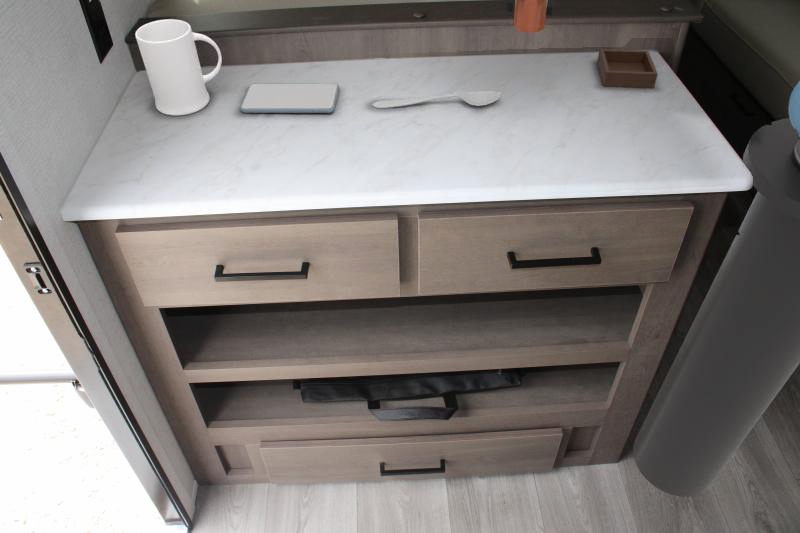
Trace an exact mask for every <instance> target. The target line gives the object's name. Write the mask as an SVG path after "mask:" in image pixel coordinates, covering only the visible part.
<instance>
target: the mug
mask: <svg viewBox="0 0 800 533" xmlns="http://www.w3.org/2000/svg"><path fill="white" fill-rule="evenodd" d="M134 35H135V39H136V42H137V46H138V48H139V53H140V55H141V58H142V62H143V65H144V68H145V72H146V75H147V77H148V81H149V83H150V87H151V92H152V94H153V97H154V103H155V104H154V105H155V108H156V109H157V111H158V112H160V113H161V114H164V115H167V116H177V117H178V116H179V117H180V116H186V115H191V114H194V113H197V112H199V111H201V110H202V109H204V108H205V107H207V105H208V104H209V102H210V99H211V98H210V94H209V92H208V90H207V86H206V83H208V82H210V81H211V80H213V79H214V78H215V77H216V76H217V75H218V73H219V72H220V70H221V68H222V62H223V57H222V52H221V50H220V47H219V46H218V45H217V43H216V42H215V40H213V39H212V38H210V37H209V36H208V35H205V34H203V33H198V32H195V31H193V30H192V26H191V25H190V23H188V22H186V21H185V20H181V19H175V18H170V19H169V18H168V19H158V20H154V21H150V22H148V23H145V24H143V25H142V26H140V27H139V28H137V30H135V33H134ZM196 41H203V42H206V43H208V44H210V45H211V46H212V47H213V48H214V49H215V50H216V52H217V57H218V59H217V64H216V67H215V68H214V69H213V70H212V71H211V72H209V73H207V74H203V71H202V67H201V63H200V59H199V55H198V50H197V46H196V43H195V42H196Z"/></svg>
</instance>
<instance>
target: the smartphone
mask: <svg viewBox="0 0 800 533" xmlns="http://www.w3.org/2000/svg"><path fill="white" fill-rule="evenodd" d="M339 91H340V85H339V84H338V83H335V82H329V83H328V82H327V83H326V82H319V83H317V82H316V83H315V82H312V83H307V82H305V83H303V82H302V83H299V82H298V83H297V82H296V83H294V82H293V83H287V82H286V83H284V82H283V83H282V82H281V83H279V82H277V83H274V82H273V83H272V82H271V83H265V82H264V83H262V82H261V83H260V82H259V83H257V82H256V83H250V84H249V86H248V88H247V90H246V92H245V95H244V98H243V100H242V102H241V105H240V107H239V109H240V112H242V113H243V114H246V113H248V114H249V113H250V114H251V113H253V114H254V113H255V114H260V113H261V114H262V113H263V114H268V113H270V114H273V113H277V114H279V113H282V114H284V113H286V114H288V113H291V114H292V113H293V114H297V113H299V114H300V113H301V114H302V113H305V114H306V113H307V114H311V113H315V114H316V113H317V114H320V113H321V114H322V113H325V114H327V113H329V114H330V113H333V112H334V111H335V110H336V106H337V105H336V104H337V101H338V100H337V99H338V95H339Z"/></svg>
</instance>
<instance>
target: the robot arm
mask: <svg viewBox="0 0 800 533" xmlns="http://www.w3.org/2000/svg"><path fill="white" fill-rule="evenodd" d="M515 1H516V0H506V12H508V13H514V8H515ZM554 3H555V0H548V2H547V9H546V16H553V10H554ZM787 110H788V118H790V121H791V124H792V126H793V128H794V129H796V131H797V133H798V134H799V137H798V139H799V140H798V139H797V140H798V141H797V140H796V141H797V143H796V145H795V147H794V149H793V151H792V159H793V162H794V164H795V165H796V167H797V168H798V169H799V170H800V80H799V81H798V82H797V84H796V85H795V86H794V87H793V90H792V91H791V93H790V96H789V101H788V109H787Z"/></svg>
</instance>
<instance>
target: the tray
mask: <svg viewBox="0 0 800 533" xmlns="http://www.w3.org/2000/svg"><path fill="white" fill-rule="evenodd" d="M596 66H597V69H598V73H599V76H600V80H601V85H602V87H609V88H612V87H613V88H635V89H636V88H637V89H654V88H655V84H656V81H657V78H658V71H657V68H656V66H655V63H654V61H653V59H652V57H651V54H650V52H649V50H639V49H638V50H635V49H610V48H609V49H608V48H607V49H606V48H604V49H603V48H600V49H599V51H598V55H597V60H596Z"/></svg>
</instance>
